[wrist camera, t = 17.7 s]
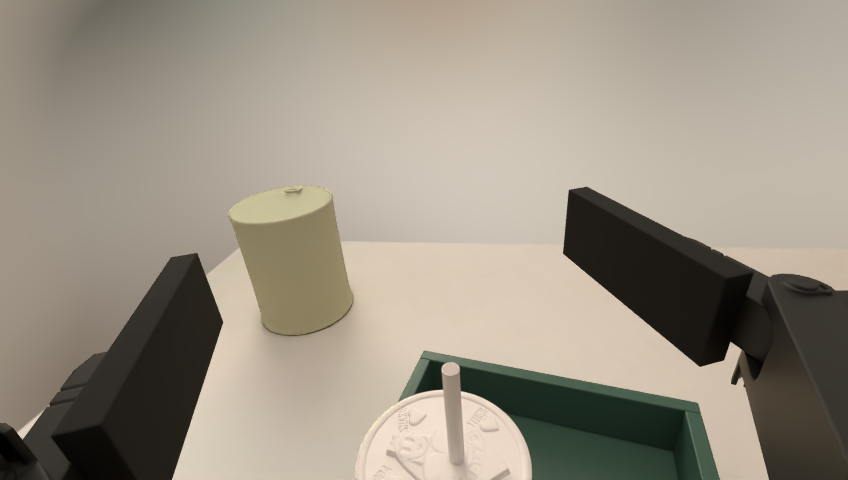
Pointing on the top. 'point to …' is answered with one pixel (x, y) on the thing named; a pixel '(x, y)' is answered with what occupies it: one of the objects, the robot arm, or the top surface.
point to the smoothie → (444, 439)
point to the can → (293, 258)
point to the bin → (584, 423)
